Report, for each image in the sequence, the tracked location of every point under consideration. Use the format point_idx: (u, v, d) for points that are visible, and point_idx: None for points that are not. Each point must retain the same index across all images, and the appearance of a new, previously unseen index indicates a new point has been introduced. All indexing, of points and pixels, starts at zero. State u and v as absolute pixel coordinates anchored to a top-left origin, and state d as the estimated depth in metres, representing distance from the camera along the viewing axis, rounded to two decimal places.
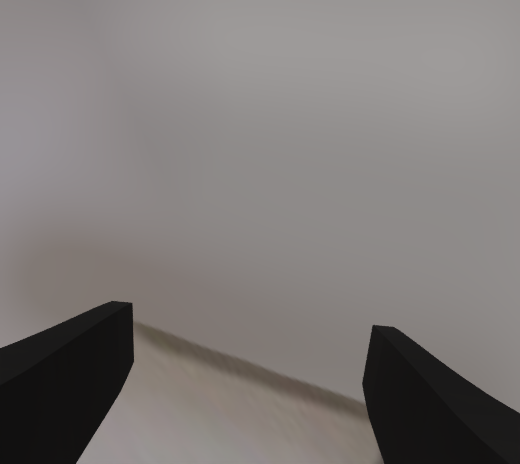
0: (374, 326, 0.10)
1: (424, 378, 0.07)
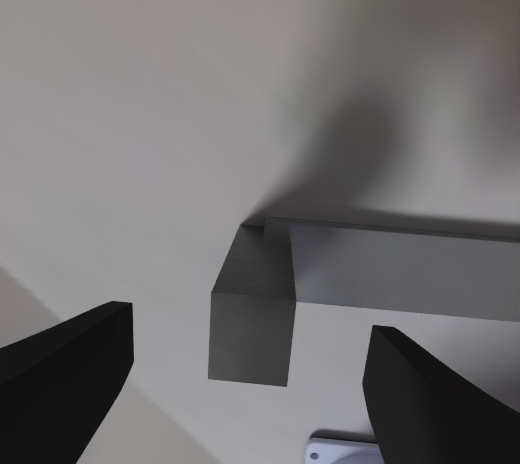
0: (375, 326, 0.10)
1: (424, 378, 0.07)
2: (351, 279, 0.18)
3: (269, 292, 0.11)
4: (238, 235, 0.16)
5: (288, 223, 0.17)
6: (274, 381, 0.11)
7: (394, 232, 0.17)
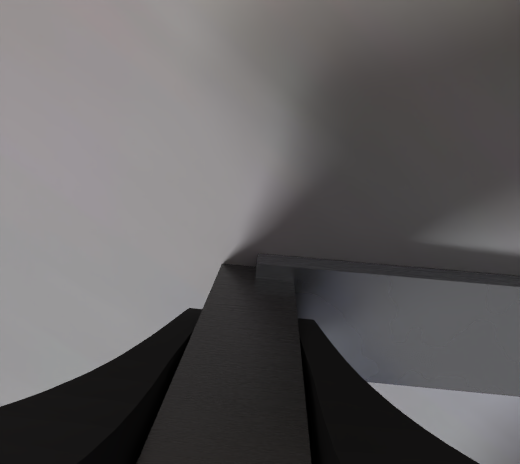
0: None
1: (311, 367, 0.07)
2: (383, 346, 0.12)
3: (257, 461, 0.05)
4: (216, 288, 0.11)
5: (291, 266, 0.12)
6: None
7: (449, 280, 0.11)
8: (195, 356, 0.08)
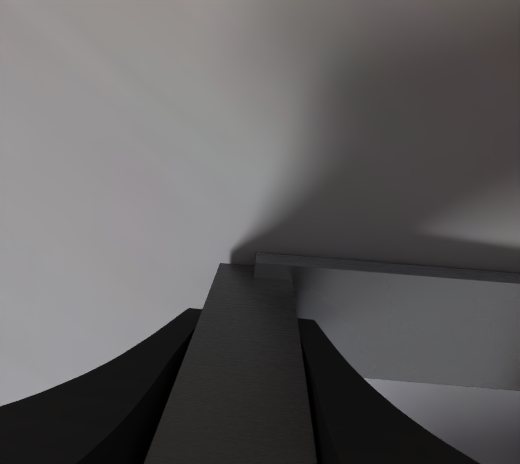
0: None
1: (311, 367, 0.07)
2: (380, 342, 0.12)
3: (264, 456, 0.05)
4: (215, 287, 0.11)
5: (289, 264, 0.12)
6: None
7: (443, 277, 0.12)
8: (198, 354, 0.08)
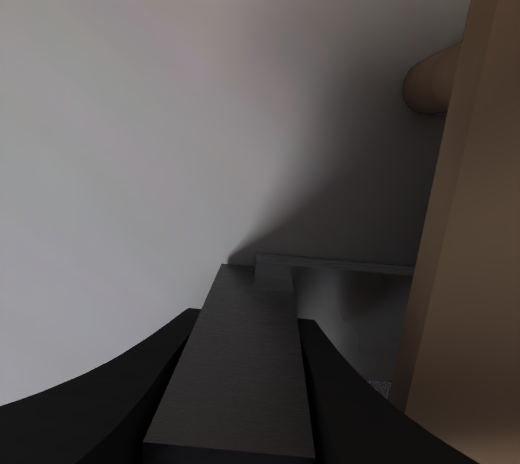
0: None
1: (312, 367, 0.07)
2: (379, 343, 0.12)
3: (261, 435, 0.06)
4: (216, 284, 0.11)
5: (289, 264, 0.12)
6: None
7: None
8: (198, 344, 0.08)
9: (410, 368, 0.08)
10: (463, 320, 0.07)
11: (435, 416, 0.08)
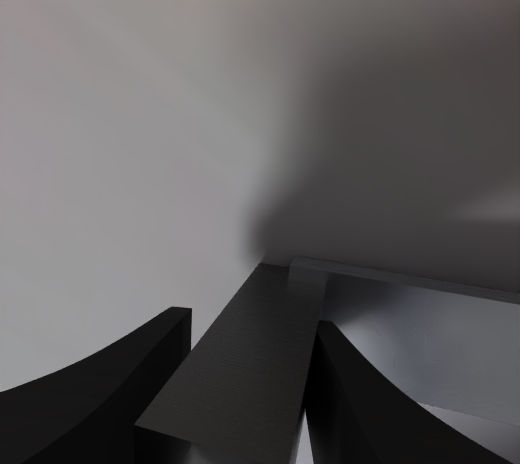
0: None
1: (337, 370, 0.07)
2: (417, 362, 0.12)
3: (242, 437, 0.06)
4: (247, 283, 0.11)
5: (324, 270, 0.12)
6: None
7: (494, 299, 0.11)
8: (211, 340, 0.08)
9: None
10: None
11: None
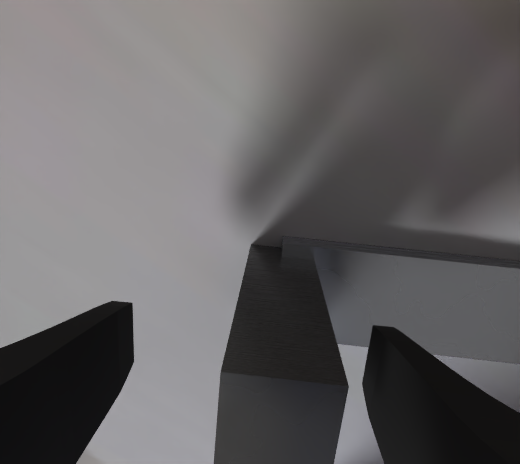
0: (374, 326, 0.10)
1: (424, 378, 0.07)
2: (388, 316, 0.14)
3: (306, 370, 0.07)
4: (250, 262, 0.13)
5: (312, 246, 0.14)
6: None
7: (445, 260, 0.14)
8: (246, 308, 0.10)
9: None
10: None
11: None
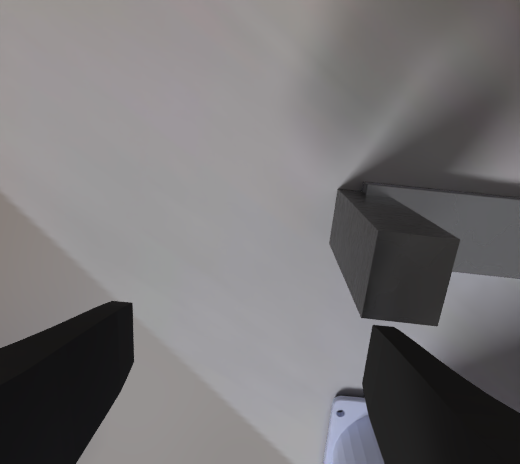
0: (375, 326, 0.10)
1: (424, 378, 0.07)
2: None
3: (429, 233, 0.11)
4: (347, 196, 0.17)
5: (390, 187, 0.18)
6: (425, 320, 0.12)
7: (494, 197, 0.18)
8: (366, 212, 0.14)
9: None
10: None
11: None
